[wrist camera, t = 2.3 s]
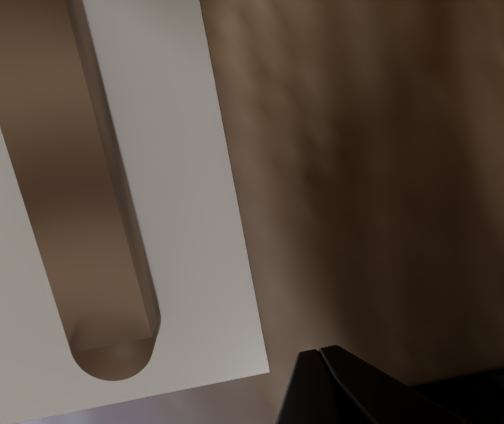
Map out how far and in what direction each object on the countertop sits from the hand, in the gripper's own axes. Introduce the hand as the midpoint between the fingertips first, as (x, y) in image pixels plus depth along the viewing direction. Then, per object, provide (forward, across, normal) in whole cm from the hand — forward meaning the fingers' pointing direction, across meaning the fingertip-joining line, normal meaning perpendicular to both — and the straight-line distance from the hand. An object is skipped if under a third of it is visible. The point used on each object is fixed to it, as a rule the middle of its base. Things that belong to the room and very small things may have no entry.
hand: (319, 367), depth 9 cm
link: (+8, +7, -6) cm, 12 cm away
